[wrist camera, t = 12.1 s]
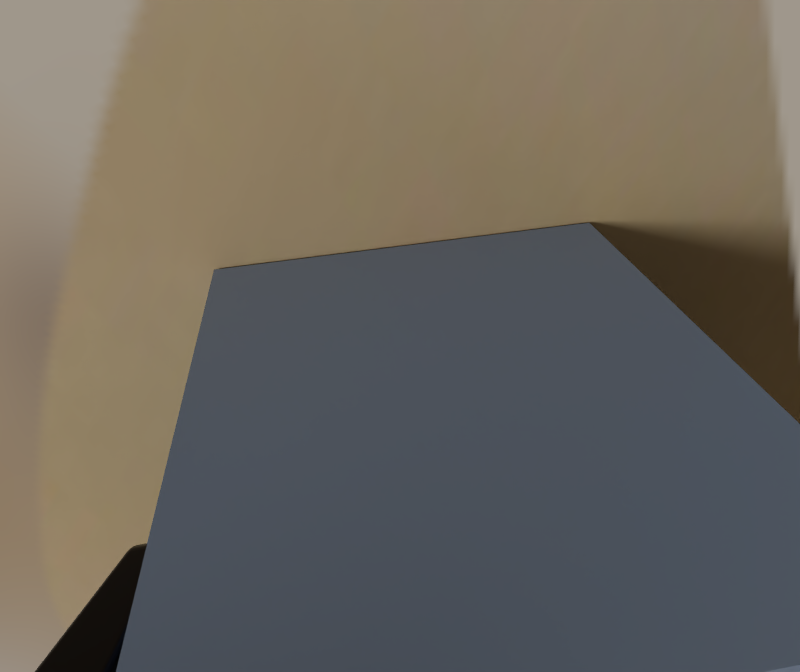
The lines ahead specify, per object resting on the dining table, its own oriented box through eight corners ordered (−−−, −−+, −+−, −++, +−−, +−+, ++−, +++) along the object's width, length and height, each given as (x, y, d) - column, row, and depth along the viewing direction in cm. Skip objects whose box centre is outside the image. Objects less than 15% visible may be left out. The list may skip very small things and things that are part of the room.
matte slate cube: (558, 477, 17) (760, 891, 9) (283, 523, 16) (273, 1003, 9) (589, 222, 12) (1009, 623, 5) (214, 270, 12) (82, 807, 4)
